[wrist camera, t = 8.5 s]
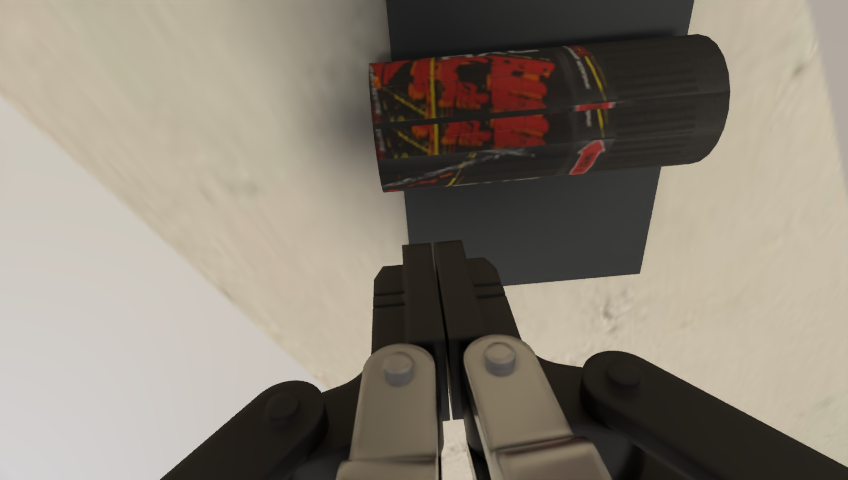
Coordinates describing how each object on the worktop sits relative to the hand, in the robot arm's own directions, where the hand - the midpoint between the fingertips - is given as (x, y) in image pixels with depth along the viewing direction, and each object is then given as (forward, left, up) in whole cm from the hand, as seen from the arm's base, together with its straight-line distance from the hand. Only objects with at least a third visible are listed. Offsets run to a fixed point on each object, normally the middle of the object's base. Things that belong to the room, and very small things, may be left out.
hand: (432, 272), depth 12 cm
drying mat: (+2, +7, -16) cm, 17 cm away
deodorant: (0, -2, -12) cm, 12 cm away
